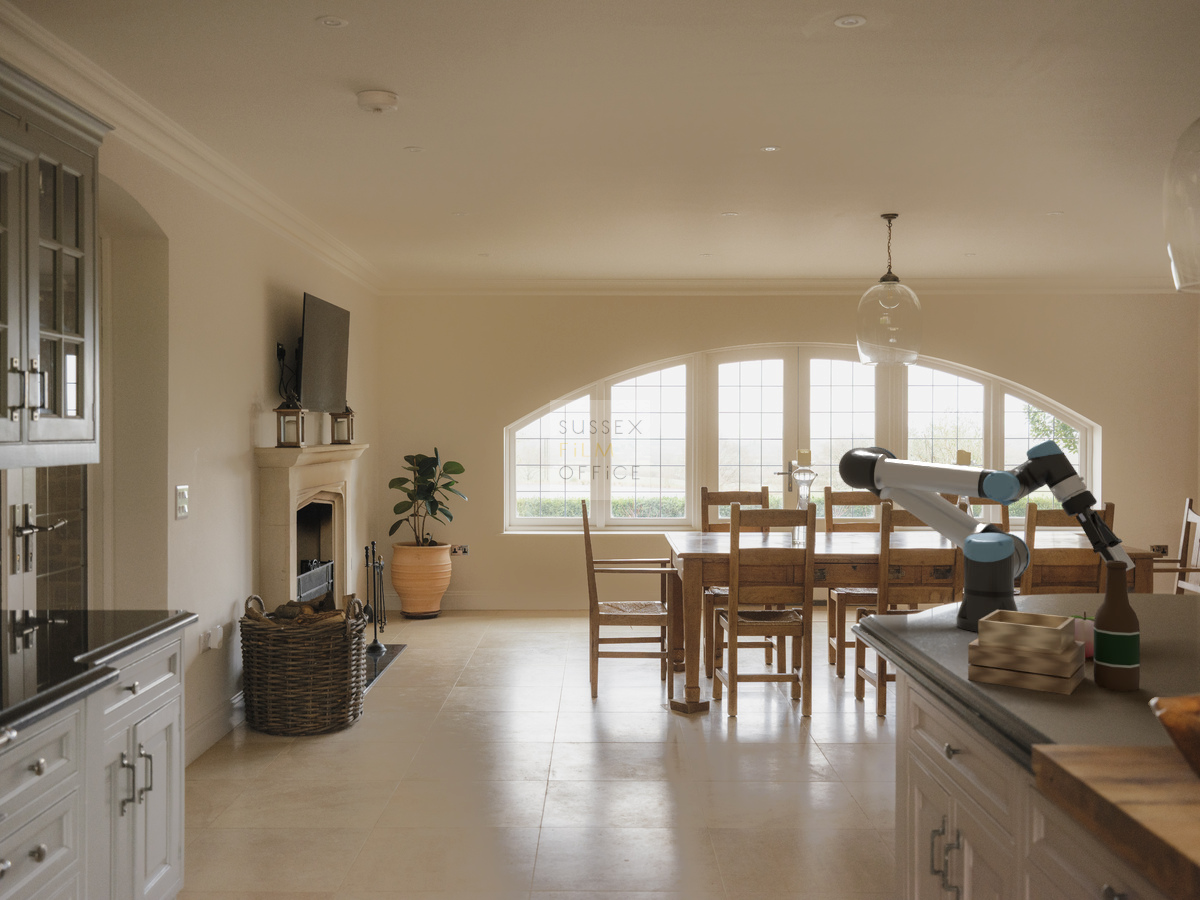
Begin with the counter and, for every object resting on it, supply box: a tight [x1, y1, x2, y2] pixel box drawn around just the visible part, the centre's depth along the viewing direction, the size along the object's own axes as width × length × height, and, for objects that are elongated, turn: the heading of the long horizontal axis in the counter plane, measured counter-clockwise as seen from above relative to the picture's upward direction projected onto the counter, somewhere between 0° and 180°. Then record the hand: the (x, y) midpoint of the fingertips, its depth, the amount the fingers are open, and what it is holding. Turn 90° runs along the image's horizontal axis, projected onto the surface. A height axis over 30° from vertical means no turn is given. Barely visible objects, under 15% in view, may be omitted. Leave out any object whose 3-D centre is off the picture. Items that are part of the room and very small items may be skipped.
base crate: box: [967, 637, 1086, 696], centre depth 180 cm, size 18×16×7 cm
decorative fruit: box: [1067, 611, 1095, 659], centre depth 198 cm, size 9×8×10 cm
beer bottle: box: [1093, 560, 1141, 692], centre depth 175 cm, size 8×8×24 cm
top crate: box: [977, 610, 1075, 655], centre depth 180 cm, size 15×15×5 cm
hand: (1125, 571), depth 223 cm, fingers open, 13 cm apart
